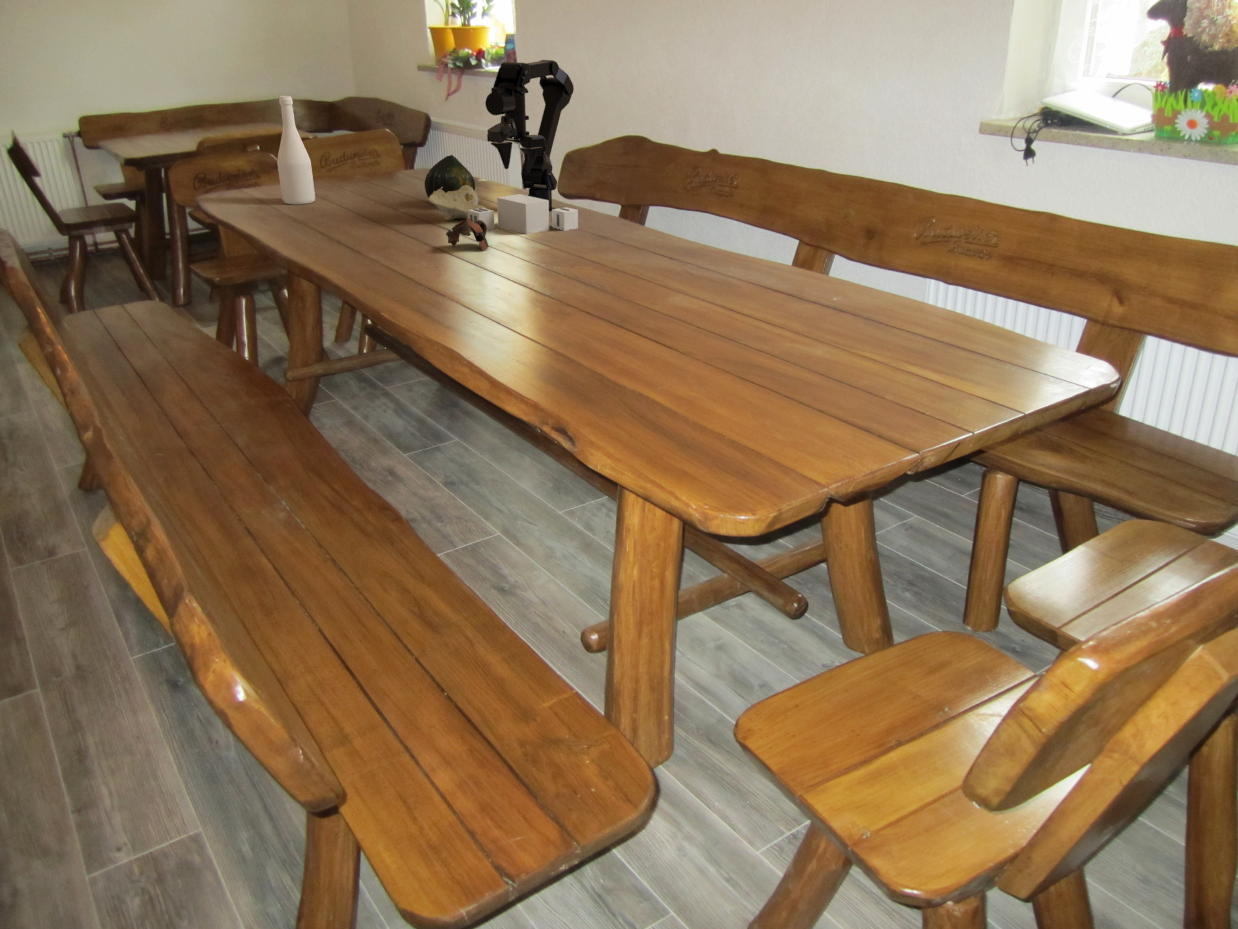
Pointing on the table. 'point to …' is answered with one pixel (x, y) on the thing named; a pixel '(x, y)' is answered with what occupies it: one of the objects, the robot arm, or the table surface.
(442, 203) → the cheese
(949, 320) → the table surface
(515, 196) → the plain grey block
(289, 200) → the wine bottle
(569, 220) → the striped block one
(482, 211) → the white marked cube
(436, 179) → the squash
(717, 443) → the table surface
